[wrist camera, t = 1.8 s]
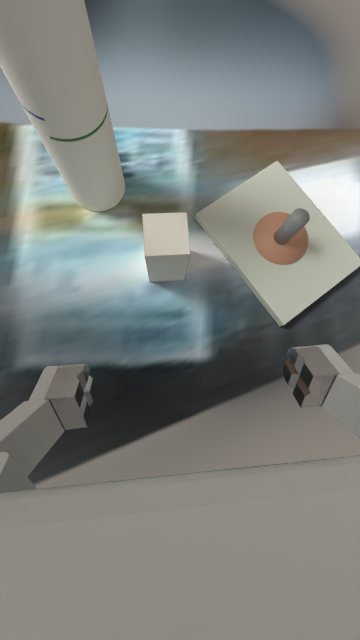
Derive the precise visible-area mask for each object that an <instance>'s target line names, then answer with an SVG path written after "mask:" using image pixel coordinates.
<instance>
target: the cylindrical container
mask: <svg viewBox="0 0 360 640" xmlns="http://www.w3.org/2000/svg"><path fill="white" fill-rule="evenodd" d="M0 67H1V69H2V71H3V72H4V74H5V76H6V78H7V80H8V81H9V83H10V85H11V87H12V89H13V90H14V92H15V94H16V96H17V97H18V99H19V101H20V103H21V105H22V107H23V108H24V110H25V112H26V114H27V115H28V117H29V119H30V121H31V123H32V124H33V126H34V128H35V130H36V131H37V133H38V135H39V137H40V139H41V140H42V142H43V144H44V146H45V148H46V149H47V151H48V153H49V155H50V156H51V158H52V160H53V162H54V164H55V165H56V167H57V169H58V171H59V173H60V174H61V176H62V178H63V180H64V182H65V183H66V185H67V187H68V189H69V191H70V192H71V194H72V196H73V198H74V199H75V201H76V202H77V203H78V204H79V205H80V206H81V207H83V208H85V209H87V210H90V211H97V212H99V211H106V210H109V209H111V208H113V207H115V206H116V205H117V204H118V203H119V202H120V201H121V200H122V198H123V196H124V193H125V181H124V177H123V172H122V168H121V163H120V159H119V154H118V150H117V146H116V141H115V137H114V132H113V128H112V123H111V119H110V114H109V110H108V106H107V101H106V97H105V92H104V87H103V83H102V78H101V74H100V70H99V65H98V61H97V56H96V52H95V47H94V43H93V38H92V34H91V29H90V25H89V20H88V16H87V11H86V7H85V2H84V0H0Z"/></svg>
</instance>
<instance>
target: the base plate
mask: <svg viewBox="0 0 360 640" xmlns="http://www.w3.org/2000/svg"><path fill="white" fill-rule="evenodd" d="M195 219H196V220H197V222H198V223H199V224H200V225H201V227H202V228H203V229H204V231H205V232H206V233H207V234H208V236H209V237H210V238H211V239H212V241H213V242H214V243H215V245H216V246H217V247H218V248H219V250H220V251H221V252H222V254H223V255H224V256H225V257H226V259H227V260H228V261H229V262H230V264H231V265H232V266H233V268H234V269H235V270H236V271H237V273H238V274H239V275H240V276H241V278H242V279H243V280H244V282H245V283H246V284H247V285H248V287H249V288H250V289H251V291H252V292H253V293H254V294H255V296H256V297H257V298H258V299H259V301H260V302H261V303H262V305H263V306H264V307H265V308H266V310H267V311H268V312H269V313H270V315H271V316H272V317H273V319H274V320H275V321H276V322H277V324H278V325H279V326H283V325H285V324H286V323H287V322H289V321H290V320H291V319H293V318H294V317H295V316H296V315H298V314H299V313H300V312H302V311H303V310H304V309H305V308H307V307H308V306H309V305H311V304H312V303H313V302H314V301H316V300H317V299H318V298H320V297H321V296H322V295H323V294H325V293H326V292H327V291H328V290H330V289H331V288H332V287H334V286H335V285H336V284H337V283H339V282H340V281H341V280H343V279H344V278H345V277H346V276H348V275H349V274H350V273H352V272H353V271H354V270H355V269H357V268H358V267H359V266H360V257H359V256H358V255H357V254H356V253H355V252H354V250H353V249H352V248H351V247H350V246H349V245H348V243H347V242H346V241H345V240H344V239H343V237H342V236H341V235H340V234H339V233H338V232H337V230H336V229H335V228H334V227H333V226H332V224H331V223H330V222H329V221H328V220H327V219H326V217H325V216H324V215H323V214H322V213H321V212H320V210H319V209H318V208H317V207H316V206H315V204H314V203H313V202H312V201H311V200H310V199H309V197H308V196H307V195H306V194H305V193H304V192H303V190H302V189H301V188H300V187H299V186H298V184H297V183H296V182H295V181H294V180H293V179H292V177H291V176H290V175H289V174H288V173H287V171H286V170H285V169H284V168H283V167H282V166H281V164H280V163H279V162H278V161H276V162H274V163H273V164H271V165H270V166H268V167H267V168H265V169H264V170H262V171H261V172H259V173H258V174H256V175H254V176H253V177H251V178H250V179H248V180H247V181H245V182H244V183H242V184H241V185H239V186H238V187H236V188H235V189H233V190H231V191H230V192H228V193H227V194H225V195H224V196H222V197H221V198H219V199H218V200H216V201H215V202H213V203H211V204H210V205H208V206H207V207H205V208H204V209H202V210H201V211H199V212H198V213H196V217H195Z"/></svg>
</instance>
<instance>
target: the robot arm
mask: <svg viewBox="0 0 360 640" xmlns="http://www.w3.org/2000/svg"><path fill="white" fill-rule="evenodd" d="M287 355H288V357H289V359H288V360H287V361H286V362H285V364H284V368H283V371H284V377H285V380H286V382H287V384H288V385H289V386H290V387H292V388H293V389H294V392H293V395H294V396H295V398H296V400H297V402H298V404H299V406H300V407H301V408H302V407H318V406H322V408H323V409H324V410H325V411H327V412H328V413H329V414H330V415H332V416H333V417H334V418H335V419H337V420H338V421H339V422H340V423H342V424H343V425H344V426H345V427H347V428H348V429H349V430H351V431H352V432H353V433H354V434H355V435H357V436H358V437H359V438H360V374H359V373H354V372H353V371H352V370H351V369H350V368H349V367H348V365H347V364H346V363H345V362H344V361H343V360H342V359H341V357H340V356H339V355H338V354H337V353H336V352H335V350H334V349H333V348H332V347H331V346H330V345H328V344H326V345H315V346H304V347H293V348H290V349H289V351H288V354H287ZM89 373H90V369H89V366H88V364H72V365H60V366H47V367H46V368H44V370H43V372H42V374H41V376H40V378H39V380H38V382H37V384H36V386H35V388H34V390H33V392H32V395H31V397H30V399H29V401H24V402H23V403H22V404H20V405H19V406H18V407H17V408H15V409H14V410H13V411H12V412H10V413H9V414H8V415H7V416H5V417H4V418H3V419H2V420H0V640H360V456H350V457H341V458H332V459H322V460H312V461H303V462H294V463H283V464H273V465H264V466H254V467H245V468H235V469H225V470H215V471H206V472H196V473H187V474H178V475H168V476H159V477H149V478H139V479H130V480H120V481H110V482H102V483H91V484H82V485H72V486H62V487H53V488H43V489H36V487H35V485H34V484H33V483H32V482H31V481H30V479H29V478H28V477H27V476H28V475H29V474H30V473H31V471H32V470H33V469H34V468H35V466H36V465H37V464H38V463H39V462H40V460H41V459H42V458H43V457H44V456H45V454H46V453H47V452H48V451H49V449H50V448H51V447H52V446H53V445H54V443H55V442H56V441H57V440H58V439H59V437H60V436H61V435H62V434H63V432H64V430H68V429H76V428H85V427H88V422H89V418H90V414H91V410H90V408H89V406H90V405H91V404H92V403H93V401H94V396H95V385H94V381H93V378H92V377H90V376H89Z"/></svg>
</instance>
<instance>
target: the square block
mask: <svg viewBox="0 0 360 640" xmlns="http://www.w3.org/2000/svg"><path fill="white" fill-rule="evenodd" d="M142 217H143V234H144V251H145V260H146V265H147V270H148V276H149V281H150V282H158V281H176V280H184V279H185V274H186V270H187V266H188V262H189V258H190V244H189V233H188V221H187V212H182V213H154V214H142Z"/></svg>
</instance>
